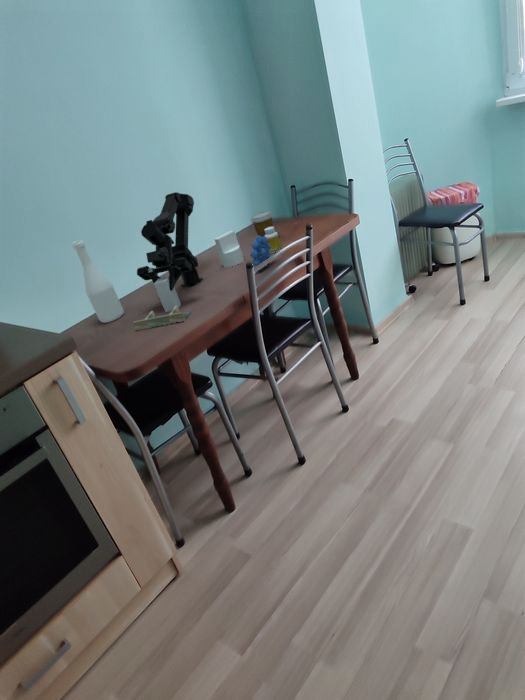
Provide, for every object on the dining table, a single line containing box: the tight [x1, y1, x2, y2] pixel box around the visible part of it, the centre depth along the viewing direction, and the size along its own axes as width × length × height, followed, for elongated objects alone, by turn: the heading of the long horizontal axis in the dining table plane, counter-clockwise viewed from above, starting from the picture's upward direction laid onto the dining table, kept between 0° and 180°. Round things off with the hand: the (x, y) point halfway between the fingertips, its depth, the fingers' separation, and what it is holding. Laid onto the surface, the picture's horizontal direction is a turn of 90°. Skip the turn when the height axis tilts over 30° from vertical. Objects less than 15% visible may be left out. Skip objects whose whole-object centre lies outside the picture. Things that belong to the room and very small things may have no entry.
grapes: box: [249, 235, 272, 271], centre depth 180 cm, size 12×7×12 cm, turn 144°
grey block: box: [153, 276, 182, 313], centre depth 169 cm, size 4×4×11 cm
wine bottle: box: [72, 239, 125, 324], centre depth 175 cm, size 10×10×30 cm
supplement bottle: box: [264, 226, 282, 255], centre depth 194 cm, size 5×5×10 cm
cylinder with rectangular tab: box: [214, 230, 245, 268], centre depth 196 cm, size 9×9×12 cm
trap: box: [132, 306, 192, 331], centre depth 162 cm, size 7×18×3 cm, turn 79°
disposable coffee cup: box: [250, 210, 274, 237], centre depth 210 cm, size 10×10×12 cm
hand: (164, 291), depth 167 cm, fingers closed on grey block, 4 cm apart
